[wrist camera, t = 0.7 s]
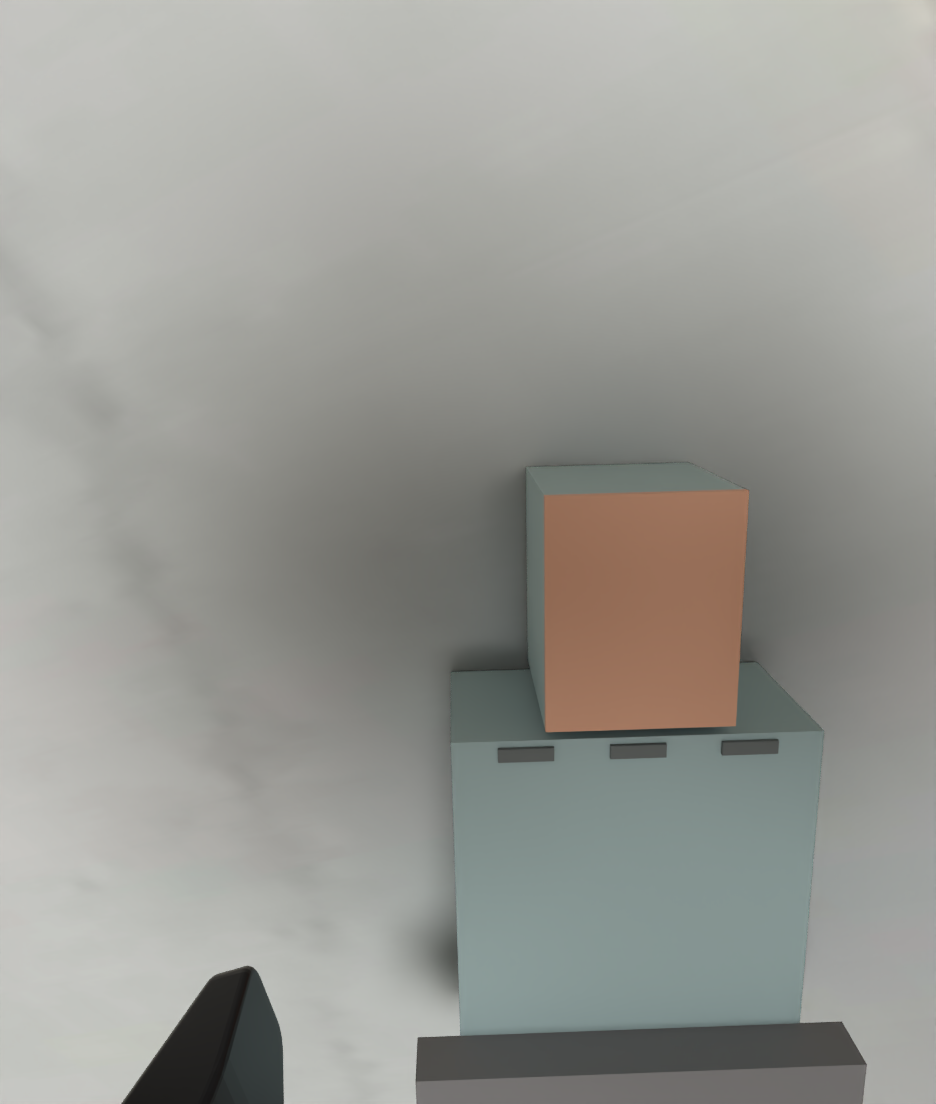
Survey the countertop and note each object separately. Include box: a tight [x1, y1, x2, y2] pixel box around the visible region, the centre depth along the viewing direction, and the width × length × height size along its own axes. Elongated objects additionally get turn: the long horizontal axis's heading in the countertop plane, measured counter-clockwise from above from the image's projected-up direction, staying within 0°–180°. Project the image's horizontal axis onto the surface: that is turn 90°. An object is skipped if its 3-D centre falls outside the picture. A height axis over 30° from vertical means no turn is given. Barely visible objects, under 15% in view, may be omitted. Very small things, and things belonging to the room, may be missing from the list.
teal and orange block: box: [526, 462, 749, 732], centre depth 19 cm, size 4×5×4 cm
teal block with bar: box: [416, 662, 867, 1104], centre depth 20 cm, size 10×10×5 cm
